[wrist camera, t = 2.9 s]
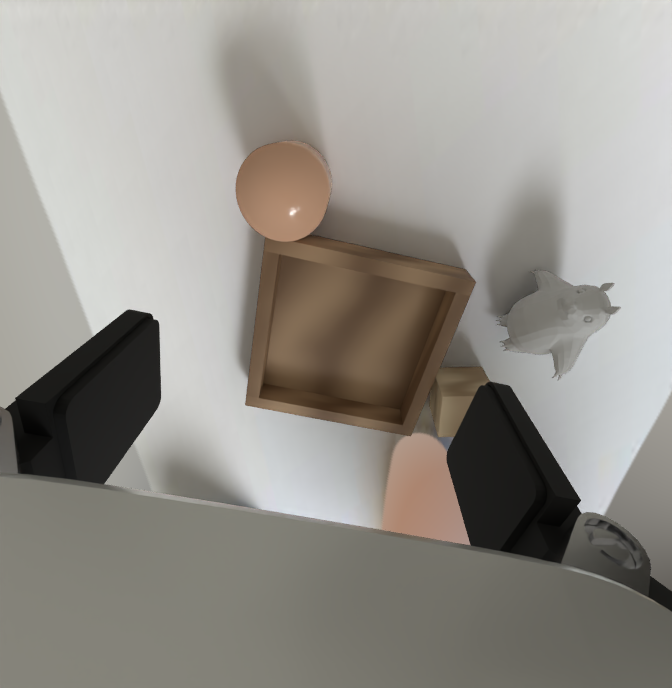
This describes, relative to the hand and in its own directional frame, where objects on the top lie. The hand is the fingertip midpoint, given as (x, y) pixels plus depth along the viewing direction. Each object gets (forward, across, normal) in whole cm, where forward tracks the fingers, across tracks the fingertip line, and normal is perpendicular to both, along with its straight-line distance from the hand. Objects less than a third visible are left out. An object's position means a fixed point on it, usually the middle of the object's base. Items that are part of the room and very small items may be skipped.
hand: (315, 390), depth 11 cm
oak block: (+18, -12, +10) cm, 24 cm away
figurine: (+18, -16, +1) cm, 24 cm away
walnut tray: (+18, -2, +7) cm, 19 cm away
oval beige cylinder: (+18, +4, -3) cm, 18 cm away
